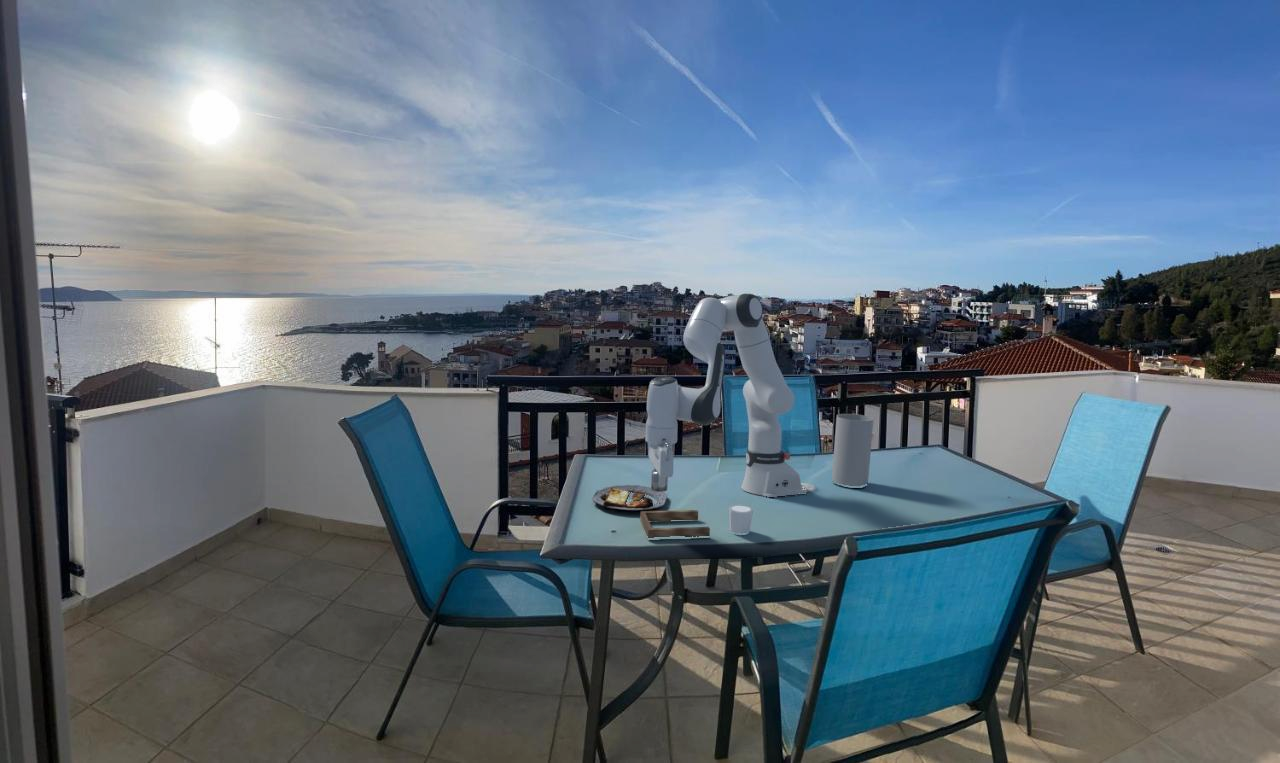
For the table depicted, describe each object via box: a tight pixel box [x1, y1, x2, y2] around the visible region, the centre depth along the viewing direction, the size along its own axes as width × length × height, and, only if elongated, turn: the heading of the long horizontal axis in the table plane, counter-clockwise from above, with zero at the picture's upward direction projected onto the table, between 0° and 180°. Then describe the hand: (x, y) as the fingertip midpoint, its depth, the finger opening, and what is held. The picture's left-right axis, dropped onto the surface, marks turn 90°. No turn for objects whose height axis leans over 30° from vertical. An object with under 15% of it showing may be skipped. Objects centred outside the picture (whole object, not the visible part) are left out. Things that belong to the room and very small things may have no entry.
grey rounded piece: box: [650, 469, 669, 492], centre depth 168 cm, size 5×5×5 cm
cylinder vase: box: [831, 413, 874, 486], centre depth 217 cm, size 12×12×25 cm
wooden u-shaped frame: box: [639, 509, 711, 538], centre depth 170 cm, size 17×14×3 cm
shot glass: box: [728, 504, 754, 534], centre depth 170 cm, size 7×7×7 cm
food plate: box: [591, 484, 668, 512], centre depth 193 cm, size 25×23×4 cm
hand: (659, 483), depth 168 cm, fingers closed on grey rounded piece, 5 cm apart
